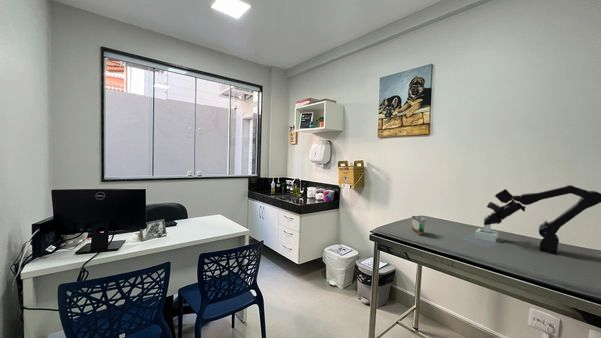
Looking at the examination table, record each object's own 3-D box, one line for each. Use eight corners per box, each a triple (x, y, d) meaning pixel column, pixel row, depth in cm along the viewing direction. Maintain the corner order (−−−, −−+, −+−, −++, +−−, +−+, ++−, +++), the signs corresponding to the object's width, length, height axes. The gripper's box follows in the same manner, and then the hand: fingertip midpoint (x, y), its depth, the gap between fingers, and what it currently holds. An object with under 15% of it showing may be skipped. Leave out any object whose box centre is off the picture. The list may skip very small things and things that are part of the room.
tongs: (490, 234, 153) (491, 215, 152) (489, 235, 151) (490, 216, 150) (484, 233, 155) (485, 214, 155) (483, 234, 153) (484, 215, 152)
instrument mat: (505, 240, 151) (505, 239, 151) (488, 248, 137) (488, 247, 137) (476, 232, 164) (476, 232, 164) (457, 239, 150) (457, 239, 150)
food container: (429, 236, 156) (430, 220, 155) (419, 235, 156) (420, 220, 155) (420, 230, 168) (420, 215, 168) (411, 229, 168) (411, 215, 168)
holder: (497, 238, 153) (498, 231, 153) (495, 242, 146) (495, 235, 146) (478, 234, 160) (478, 228, 160) (475, 237, 153) (475, 231, 153)
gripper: (499, 196, 155) (477, 210, 164) (494, 200, 142) (471, 215, 151) (515, 211, 150) (491, 225, 159) (511, 216, 137) (486, 231, 146)
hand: (484, 223), depth 154 cm, fingers closed on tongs, 4 cm apart
